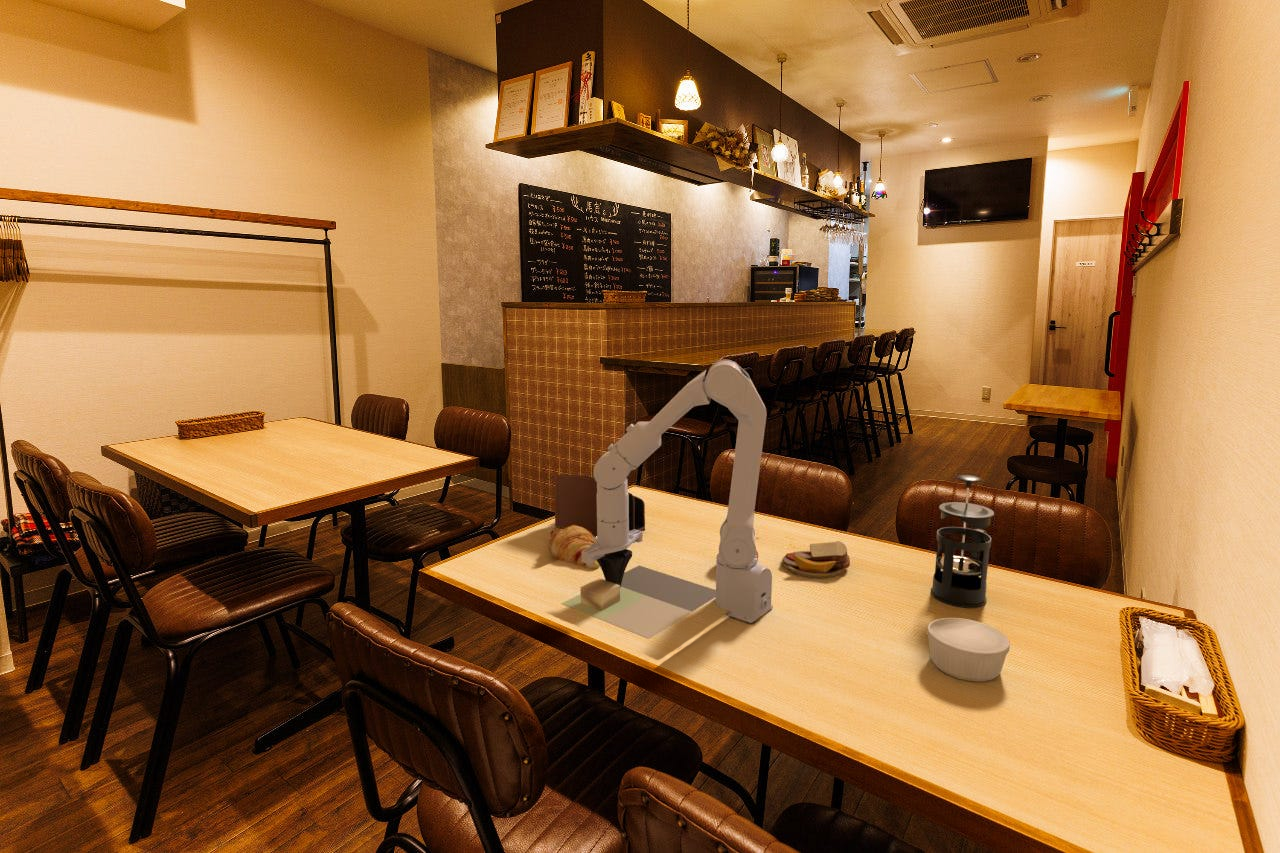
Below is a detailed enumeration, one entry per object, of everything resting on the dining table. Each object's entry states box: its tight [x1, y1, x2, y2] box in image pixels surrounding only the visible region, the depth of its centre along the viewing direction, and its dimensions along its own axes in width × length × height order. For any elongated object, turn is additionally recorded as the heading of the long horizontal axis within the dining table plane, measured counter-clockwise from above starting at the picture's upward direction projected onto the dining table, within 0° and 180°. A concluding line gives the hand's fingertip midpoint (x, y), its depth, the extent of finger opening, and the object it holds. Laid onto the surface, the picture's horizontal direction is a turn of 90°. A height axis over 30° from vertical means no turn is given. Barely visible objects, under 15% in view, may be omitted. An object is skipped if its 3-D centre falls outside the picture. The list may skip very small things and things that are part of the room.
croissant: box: [548, 525, 601, 570], centre depth 144 cm, size 21×10×8 cm, turn 32°
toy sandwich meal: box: [781, 540, 851, 579], centre depth 138 cm, size 12×14×5 cm
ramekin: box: [926, 617, 1011, 683], centre depth 101 cm, size 11×11×5 cm
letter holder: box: [554, 474, 646, 537], centre depth 160 cm, size 10×20×14 cm, turn 58°
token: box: [580, 577, 620, 611], centre depth 120 cm, size 5×5×3 cm
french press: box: [930, 474, 995, 609], centre depth 123 cm, size 12×9×23 cm
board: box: [560, 565, 716, 640], centre depth 122 cm, size 20×22×1 cm
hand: (613, 588), depth 123 cm, fingers closed
